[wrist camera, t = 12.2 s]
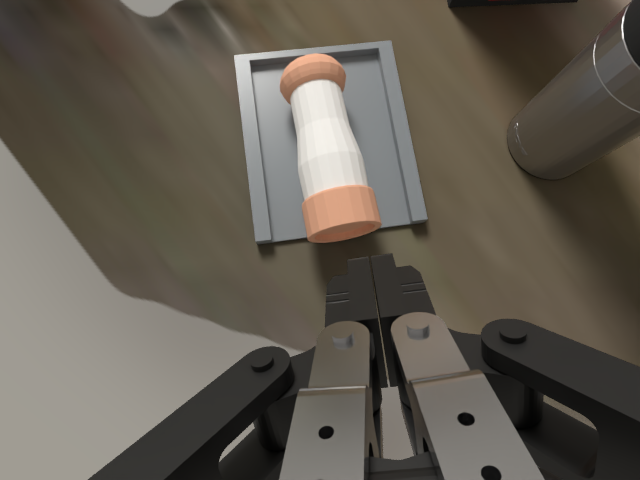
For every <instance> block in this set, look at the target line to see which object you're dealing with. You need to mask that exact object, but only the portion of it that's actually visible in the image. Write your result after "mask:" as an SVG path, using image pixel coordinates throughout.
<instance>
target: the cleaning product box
mask: <svg viewBox="0 0 640 480" xmlns="http://www.w3.org/2000/svg"><path fill="white" fill-rule="evenodd" d="M577 1H578V0H447V2H448V7H466V6H491V5H516V4H541V3H566V2H577Z"/></svg>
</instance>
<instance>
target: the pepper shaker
mask: <svg viewBox="0 0 640 480" xmlns="http://www.w3.org/2000/svg"><path fill="white" fill-rule="evenodd" d="M345 82H346V74H345V71H344V69H343V67H342V65H341V64H340V63H339V62H338V61H336V60H335V59H334V58H332V57H331V56H328V55H326V54H317V53H315V54H308V55H304V56H302V57H299V58H297V59H295V60H294V61H292V62H291V63H290V64H289V65H288V66H287V67H286V68H285V70H284V72H283V74H282V76H281V79H280V92H281V94H282V95H283V97H284V98H285V100H286V101H287V102H288V103H289V104H290V105H291V108H292V113H293V119H294V124H295V129H296V135H297V150H298V175H299V179H300V184H301V188H302V192H303V197H304V202H303V203H302V212H303V217H304V222H305V228H306V233H307V238H308V241H310V242H314V243H327V242H336V241H342V240H347V239H351V238H355V237H359V236H362V235H365V234H368V233H370V232H373V231H375V230H376V229H378V228H380V226H381V225H382V223H381V219H380V215H379V210H378V206H377V202H376V197H375V193H374V191H373V189H372V188H371V187H369V185H368V180H367V175H366V170H365V165H364V160H363V157H362V154H361V152H360V150H359V147H358V145H357V142H356V140H355V137H354V135H353V133H352V130H351V128H350V125H349V121H348V116H347V112H346V108H345V104H344V99H343V95H342V92H343V91H344V87H345Z"/></svg>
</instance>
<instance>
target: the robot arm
mask: <svg viewBox="0 0 640 480" xmlns="http://www.w3.org/2000/svg"><path fill="white" fill-rule="evenodd" d="M638 136H640V0H632V1H631V2H630V3H629V4H628V5H627V6H626V7H625V8H624V9H623V10H622V11H621V12H620V13H619V14H618V15H617V16H616V17H615V18H614V19H613V20H612V21H611V22H610V23H609V24H608V25H607V26H606V27H605V28H604V29H603V30H602V31H601V32H600V33H599V34H598V35H597V36H596V37H595V38H594V39H593V40H592V41H591V42H590V43H589V44H588V45H587V46H586V47H585V48H584V49H583V50H582V51H581V52H580V53H579V54H577V55H576V56H575V57H574V58H573V59H572V60H571V61H570V62H569V63H568V64H567V65H566V66H565V67H564V68H563V69H562V70H561V71H560V72H559V73H558V74H557V75H556V76H555V77H554V78H553V79H552V80H551V81H550V82H549V83H548V84H547V85H546V86H545V87H544V88H543V89H542V90H541V91H540V92H539V93H538V94H537V95H536V96H535V97H534V98H533V99H532V100H531V101H530V102H529V103H528V104H527V105H526V106H525V107H524V108H523V109H522V110H521V111H520V112H519V113H518V114H517V115H516V116H515V117H514V118H513V120H512V121H511V123H510V125H509V129H508V135H507V140H508V147H509V149H510V152H511V154H512V156H513V158H514V159H515V161H516V162H517V163H518V164H519V165H520V166H521V168H523V169H524V170H525V171H527V172H528V173H530V174H532V175H534V176H536V177H539V178H543V179H551V180H555V179H562V178H564V177H567V176H569V175H571V174H573V173H575V172H577V171H578V170H580V169H582V168H584V167H585V166H587V165H589V164H591V163H593V162H594V161H596V160H598V159H600V158H601V157H603V156H605V155H607V154H608V153H610V152H612V151H614V150H615V149H617V148H619V147H621V146H623V145H624V144H626V143H628V142H630V141H631V140H633V139H635V138H637V137H638ZM370 257H371V264H372V271H373V278H374V285H375V292H376V299H377V306H378V312H379V319H380V325H381V331H382V337H383V344H384V350H385V356H386V363H387V369H388V375H389V381H390V387H395V386H398V389H399V395H400V403H401V409H402V414H403V418H404V421H405V425H406V428H407V432H408V435H409V439H410V442H411V446H412V450H413V454H414V456H413V457H410V458H407V459H403V460H391V459H384V458H383V435H382V432H383V431H382V410H381V402H382V394H381V388H386V387H388V384H387V377H386V370H385V363H384V356H383V350H382V343H381V336H380V329H379V322H378V315H377V309H376V302H375V296H374V289H373V283H372V276H371V270H370V263H369V257H363V258H356V259H349V260H347V268H348V274H346V275H338V276H333V278H332V279H331V280H330V282H329V283H328V284H327V296H326V315H325V328H324V329H323V330H322V331H321V332H320V334H319V335H318V338H317V343H316V346H315V347H313V348H312V349H310V350H308V351H306V352H304V353H301V354H298V355H296V356H293V357H290V356H289V354H288V353H287V351H286V350H284V349H282V348H280V347H274V346H270V347H263V348H259V349H256V350H254V351H252V352H250V353H249V354H247V355H246V356H244V357H243V358H242V359H241V360H239V361H238V362H237V363H235V364H234V365H233V366H232V367H230V368H229V369H228V370H227V371H225V372H224V373H223V374H222V375H220V376H219V377H218V378H217V379H215V380H214V381H213V382H211V383H210V384H209V385H207V386H206V387H205V388H204V389H202V390H201V391H200V392H199V393H198V394H196V395H195V396H194V397H192V398H191V399H190V400H188V402H186V403H185V404H183V405H182V406H181V407H180V408H178V409H177V410H176V411H174V412H173V413H172V414H171V415H169V416H168V417H167V418H166V419H164V420H163V421H162V422H161V423H159V424H158V425H157V426H155V427H154V428H153V429H152V430H150V431H149V432H148V433H146V434H145V435H144V436H143V437H141V438H140V439H139V440H138V441H137V442H135V443H134V444H132V445H131V446H130V447H129V448H127V449H126V450H125V451H124V452H122V453H121V454H120V455H119V456H117V457H116V458H115V459H113V460H112V461H111V462H110V463H108V464H107V465H106V466H104V467H103V468H102V469H101V470H100V471H98V472H97V473H96V474H94V475H93V476H92V477H90V478H89V479H88V480H640V367H638V366H636V365H633V364H631V363H628V362H626V361H623V360H621V359H618V358H616V357H613V356H611V355H608V354H606V353H603V352H601V351H598V350H596V349H594V348H591V347H589V346H586V345H584V344H581V343H579V342H576V341H574V340H571V339H569V338H566V337H564V336H561V335H559V334H556V333H554V332H551V331H549V330H546V329H544V328H541V327H539V326H536V325H534V324H531V323H528V322H526V321H522V320H517V319H500V320H495V321H492V322H490V323H488V324H487V325H486V326H485V327H484V328H483V329H482V332H481V335H477V334H467V333H461V332H457V331H454V330H451V329H449V328H447V326H446V324H445V323H444V321H443V320H442V319H441V318H439V317H438V316H436V313H435V311H434V308H433V305H432V303H431V300H430V297H429V295H428V292H427V291H426V287H425V284H424V282H423V279H422V276H421V274H420V272H419V271H417V270H416V269H415V268H413V267H412V266H404V267H396V265H395V262H394V258H393V255H392V253H391V254H384V255H377V256H370ZM544 395H546V396H548V397H550V398H552V399H554V400H556V401H557V402H559V403H561V404H563V405H565V406H567V407H569V408H571V409H573V410H575V411H576V412H578V413H580V414H582V415H584V416H585V417H586V418H588V419H589V420H590V421H591V422H592V423H593V424H594V426H595V427H596V429H597V430H595V429H593V428H591V427H589V426H588V425H586V424H584V423H582V422H580V421H578V420H576V419H575V418H573V417H571V416H569V415H567V414H565V413H564V412H562V411H560V410H558V409H556V408H554V407H552V406H551V405H549V404H547V403H545V402H543V396H544ZM252 422H253V424H254V427H255V429H253V430H252V431H251V432H250V433H249V434H248V435H247V436H246V437H245V438H244V439H243V440H242V441H241V442H240V443H239V444H238V445H237V446H236V447H235V448H234V449H233V450H232V451H231V452H230V453H229V454H227V455H226V456H225V457H224V458H223V459H222V460H221V461H220V462H219V459H220V456H221V454H222V452H223V451H224V449H225V448H226V447H227V446H228V445H229V444H230V443H231V442H232V441H233V440H234V439H235V438H236V437H238V436H239V435H240V434H241V433H242V432H243V431H244V430H245V429H246V428H247V427H248V426H249V425H250V424H251V423H252ZM538 466H539V467H538Z"/></svg>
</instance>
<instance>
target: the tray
mask: <svg viewBox="0 0 640 480" xmlns="http://www.w3.org/2000/svg"><path fill="white" fill-rule="evenodd" d="M315 53H317V54H326V55H328V56H331V57H332V58H334V59H335V60H336V61H338V62H339V63H340V64H341V65H342V67H343V69H344V71H345V74H346V82H345V87H344V91H343V92H342V95H343V99H344V104H345V108H346V112H347V116H348V121H349V125H350V128H351V130H352V133H353V135H354V137H355V140H356V142H357V145H358V147H359V150H360V152H361V154H362V157H363V160H364V165H365V170H366V175H367V180H368V185H369V187H371V188H372V189H373V191H374V193H375V197H376V202H377V206H378V210H379V215H380V219H381V223H382V225H381V226H380V228H387V227H395V226H402V225H410V224H418V223H424V222H425V221H426V220H427V219H428V218H427V214H426V209H425V204H424V199H423V194H422V189H421V184H420V179H419V175H418V170H417V165H416V160H415V155H414V150H413V145H412V140H411V135H410V131H409V126H408V121H407V116H406V111H405V106H404V101H403V96H402V92H401V87H400V82H399V77H398V72H397V67H396V62H395V57H394V52H393V48H392V43H391V40H390V41H380V42H369V43H359V44H348V45H338V46H327V47H317V48H306V49H296V50H285V51H274V52H264V53H253V54H243V55H234V58H235V66H236V75H237V84H238V93H239V101H240V110H241V119H242V127H243V136H244V145H245V154H246V162H247V171H248V180H249V188H250V197H251V206H252V214H253V223H254V232H255V241H256V243H257V244H265V243H272V242H280V241H288V240H295V239H303V238H307V233H306V228H305V222H304V217H303V212H302V203H303V202H304V197H303V192H302V188H301V184H300V179H299V175H298V150H297V135H296V129H295V124H294V119H293V113H292V108H291V105H290V104H289V103H288V102H287V101H286V100H285V98H284V97H283V95H282V94H281V92H280V79H281V76H282V74H283V72H284V70H285V68H286V67H287V66H288V65H289V64H290V63H291V62H292V61H294V60H295V59H297V58H299V57H302V56H304V55H308V54H315ZM378 229H379V228H378Z"/></svg>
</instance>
